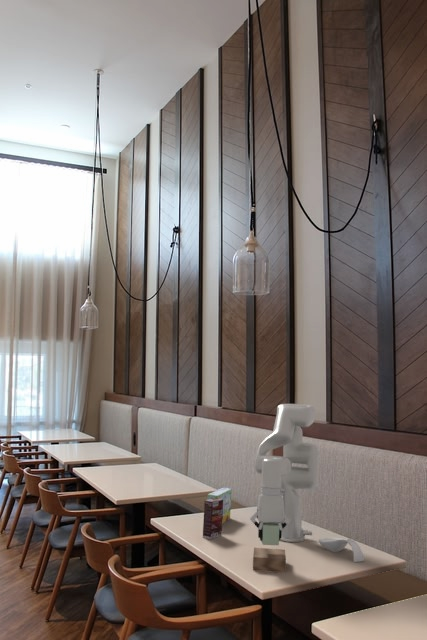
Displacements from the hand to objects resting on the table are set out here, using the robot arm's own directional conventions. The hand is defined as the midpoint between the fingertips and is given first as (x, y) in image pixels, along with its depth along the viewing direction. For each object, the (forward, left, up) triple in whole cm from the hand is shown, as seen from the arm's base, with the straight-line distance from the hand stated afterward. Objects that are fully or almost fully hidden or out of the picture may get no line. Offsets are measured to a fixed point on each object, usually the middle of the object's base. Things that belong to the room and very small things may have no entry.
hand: (269, 539), depth 212 cm
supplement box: (+20, -38, -10) cm, 44 cm away
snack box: (+16, -63, -10) cm, 66 cm away
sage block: (0, 0, -1) cm, 1 cm away
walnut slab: (0, 0, -10) cm, 10 cm away
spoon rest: (-33, -19, -10) cm, 39 cm away
